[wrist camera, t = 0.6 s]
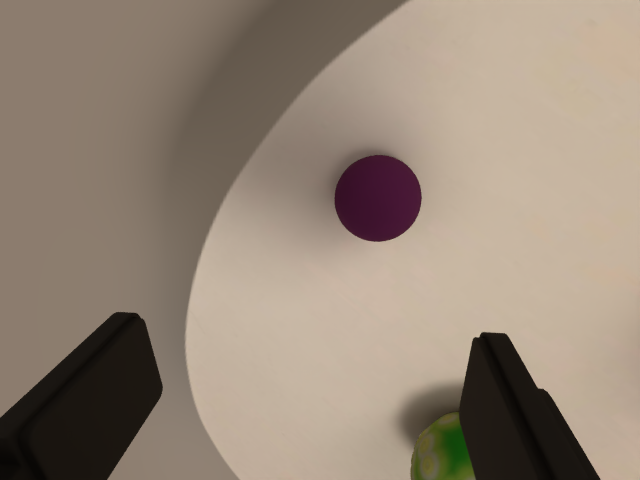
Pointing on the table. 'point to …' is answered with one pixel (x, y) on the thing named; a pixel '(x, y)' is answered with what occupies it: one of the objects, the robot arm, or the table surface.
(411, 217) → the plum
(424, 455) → the decorative ball
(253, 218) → the table surface
